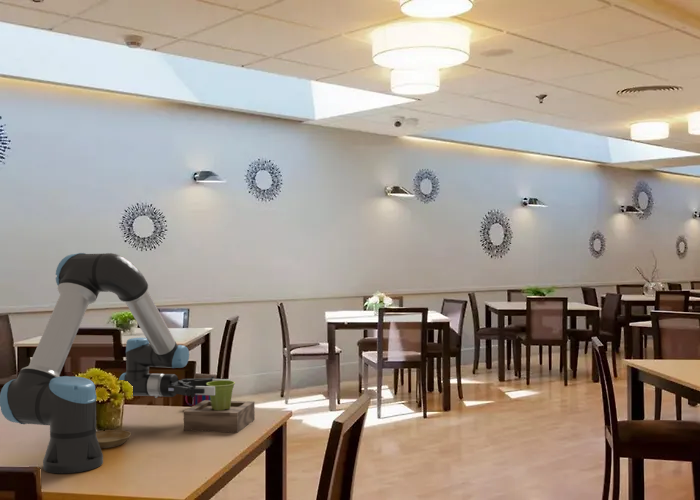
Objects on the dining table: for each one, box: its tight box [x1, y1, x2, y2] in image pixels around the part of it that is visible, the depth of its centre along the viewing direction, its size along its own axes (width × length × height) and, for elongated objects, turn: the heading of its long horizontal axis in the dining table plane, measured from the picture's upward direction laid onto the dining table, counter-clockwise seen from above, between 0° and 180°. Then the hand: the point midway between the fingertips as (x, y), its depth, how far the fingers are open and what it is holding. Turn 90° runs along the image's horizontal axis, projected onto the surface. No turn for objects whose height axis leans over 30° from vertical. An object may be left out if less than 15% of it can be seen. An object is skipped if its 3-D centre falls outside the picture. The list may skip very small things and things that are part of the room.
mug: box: [184, 393, 210, 407], centre depth 272 cm, size 7×10×7 cm
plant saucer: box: [96, 429, 132, 449], centre depth 222 cm, size 15×15×3 cm
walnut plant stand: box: [183, 400, 256, 433], centre depth 245 cm, size 18×18×6 cm
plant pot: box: [206, 380, 236, 411], centre depth 246 cm, size 9×9×9 cm
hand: (223, 387), depth 245 cm, fingers open, 13 cm apart
